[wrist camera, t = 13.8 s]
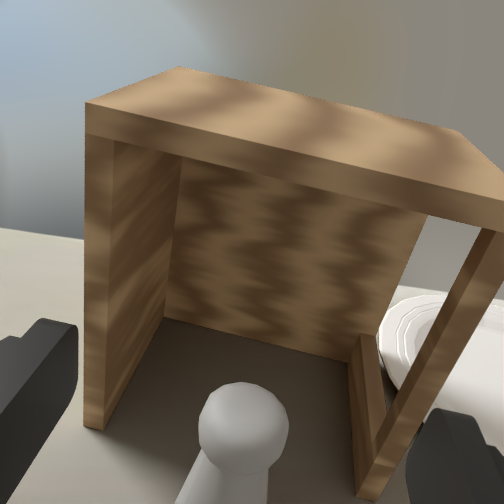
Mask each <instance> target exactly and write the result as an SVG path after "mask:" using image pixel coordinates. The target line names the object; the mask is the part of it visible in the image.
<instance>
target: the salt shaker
mask: <svg viewBox="0 0 504 504" xmlns="http://www.w3.org/2000/svg"><path fill="white" fill-rule="evenodd" d="M198 429H199V443H200V447H201V450H200V453H199V455H198V457H197V459H196V461H195V463H194V465H193V467H192V469H191V471H190V473H189V475H188V477H187V479H186V481H185V483H184V485H183V487H182V489H181V491H180V493H179V495H178V497H177V499H176V501H175V503H174V504H267V491H268V470H269V467H270V466H271V465H272V464H273V463H274V462H275V461H276V460H277V459H278V458H279V457H280V456H281V454H282V452H283V450H284V446H285V443H286V439H287V436H288V431H289V421H288V417H287V414H286V410H285V407H284V406H283V405H282V404H281V402H280V401H279V400H278V399H277V397H276V396H275V395H274V394H273V393H271V392H269V391H268V390H266V389H264V388H262V387H260V386H259V385H256V384H251V383H245V382H237V383H231V384H226V385H223V386H221V387H220V388H218V389H217V390H215V391H214V392H212V393H211V394H210V395H209V397H208V400H207V402H206V404H205V406H204V408H203V410H202V412H201V414H200V416H199V424H198Z"/></svg>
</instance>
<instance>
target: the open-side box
mask: <svg viewBox="0 0 504 504" xmlns="http://www.w3.org/2000/svg"><path fill="white" fill-rule="evenodd" d="M428 215H431V216H435V217H440V218H444V219H448V220H452V221H456V222H461V223H465V224H469V225H473V226H477V227H482V229H481V231H480V233H479V235H478V237H477V239H476V240H475V242H474V245H473V246H472V248H471V250H470V252H469V255H468V257H467V258H466V260H465V262H464V264H463V266H462V268H461V270H460V272H459V274H458V276H457V278H456V280H455V282H454V284H453V286H452V288H451V290H450V291H449V293H448V295H447V297H446V299H445V301H444V303H443V305H442V307H441V309H440V311H439V313H438V315H437V317H436V319H435V321H434V323H433V325H432V327H431V329H430V331H429V333H428V335H427V337H426V339H425V340H424V342H423V344H422V346H421V348H420V350H419V352H418V354H417V356H416V358H415V360H414V362H413V364H412V366H411V368H410V370H409V372H408V374H407V376H406V378H405V380H404V382H403V384H402V386H401V388H400V390H399V391H398V393H397V395H396V397H395V399H394V401H393V403H392V405H391V407H390V409H389V411H388V413H387V409H386V403H385V396H384V389H383V383H382V376H381V370H380V363H379V356H378V350H377V343H376V337H375V336H376V334H377V332H378V329H379V327H380V325H381V322H382V320H383V318H384V315H385V313H386V311H387V309H388V306H389V304H390V302H391V299H392V297H393V295H394V292H395V290H396V288H397V286H398V283H399V281H400V279H401V276H402V274H403V272H404V269H405V267H406V265H407V263H408V260H409V258H410V256H411V253H412V251H413V249H414V246H415V244H416V242H417V239H418V237H419V235H420V233H421V230H422V228H423V225H424V223H425V221H426V219H427V216H428ZM84 223H85V224H84V229H85V230H84V237H85V238H84V412H83V426H86V427H90V428H94V429H98V430H102V431H103V430H104V428H105V426H106V424H107V422H108V420H109V419H110V417H111V415H112V413H113V411H114V409H115V407H116V405H117V403H118V402H119V400H120V398H121V396H122V394H123V392H124V390H125V388H126V386H127V385H128V383H129V381H130V379H131V377H132V375H133V373H134V371H135V370H136V368H137V366H138V364H139V362H140V360H141V358H142V356H143V354H144V353H145V351H146V349H147V347H148V345H149V343H150V341H151V339H152V337H153V336H154V334H155V332H156V330H157V328H158V326H159V324H160V322H161V321H162V319H163V317H166V318H170V319H174V320H178V321H182V322H186V323H190V324H194V325H198V326H202V327H206V328H210V329H214V330H218V331H222V332H226V333H230V334H234V335H238V336H242V337H246V338H250V339H254V340H258V341H262V342H266V343H270V344H274V345H278V346H282V347H286V348H290V349H294V350H298V351H302V352H306V353H310V354H314V355H318V356H322V357H326V358H330V359H334V360H338V361H342V362H346V363H348V379H349V396H350V412H351V429H352V445H353V462H354V478H355V494H356V497H358V498H362V499H366V500H370V501H374V502H376V501H377V500H378V498H379V496H380V494H381V493H382V491H383V489H384V487H385V486H386V484H387V482H388V480H389V479H390V477H391V475H392V473H393V472H394V470H395V468H396V467H397V465H398V463H399V461H400V460H401V458H402V456H403V454H404V453H405V451H406V449H407V447H408V446H409V444H410V442H411V441H412V439H413V437H414V435H415V434H416V432H417V430H418V428H419V427H420V425H421V423H422V421H423V420H424V418H425V416H426V414H427V413H428V411H429V409H430V408H431V406H432V404H433V402H434V401H435V399H436V397H437V395H438V394H439V392H440V390H441V388H442V387H443V385H444V383H445V381H446V380H447V378H448V376H449V375H450V373H451V371H452V369H453V368H454V366H455V364H456V362H457V361H458V359H459V357H460V355H461V354H462V352H463V350H464V348H465V347H466V345H467V343H468V342H469V340H470V338H471V336H472V335H473V333H474V331H475V329H476V328H477V326H478V324H479V322H480V321H481V319H482V317H483V316H484V314H485V312H486V310H487V309H488V307H489V305H490V303H491V302H492V300H493V298H494V296H495V295H496V293H497V291H498V289H499V288H500V286H501V284H502V282H503V281H504V173H503V172H502V171H501V170H500V169H498V168H497V167H496V166H495V165H494V164H493V163H492V162H491V161H490V160H489V159H487V158H486V157H485V156H484V155H483V154H482V153H481V152H480V151H479V150H478V149H477V148H476V147H474V146H473V145H472V144H471V143H470V142H469V141H468V140H467V139H466V138H465V137H463V135H461V134H460V133H459V132H458V131H456V130H452V129H447V128H443V127H439V126H434V125H430V124H425V123H421V122H417V121H413V120H409V119H404V118H400V117H395V116H391V115H387V114H383V113H378V112H374V111H369V110H365V109H361V108H356V107H352V106H348V105H344V104H340V103H335V102H331V101H327V100H322V99H318V98H313V97H309V96H305V95H300V94H296V93H292V92H288V91H283V90H279V89H274V88H270V87H266V86H262V85H257V84H253V83H249V82H245V81H240V80H236V79H231V78H227V77H223V76H218V75H214V74H210V73H206V72H201V71H197V70H193V69H188V68H184V67H180V66H178V67H176V68H173V69H171V70H168V71H165V72H163V73H160V74H158V75H155V76H152V77H150V78H147V79H144V80H142V81H139V82H137V83H134V84H131V85H128V86H126V87H123V88H121V89H118V90H115V91H113V92H110V93H107V94H105V95H103V96H100V97H97V98H94V99H92V100H89V101H87V102H85V221H84Z"/></svg>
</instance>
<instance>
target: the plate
mask: <svg viewBox="0 0 504 504" xmlns="http://www.w3.org/2000/svg"><path fill="white" fill-rule="evenodd" d="M446 297H447V295H421V296H417V297H413V298H409V299H405V300H402V301H401V302H399V303H398V304H396V305H395V306H394V307H392V308H391V309H389V310H388V311H387V313H386V315H385V317H384V318H383V320H382V322H381V325H380V327H379V353H380V355H381V358H382V361H383V364H384V366H385V369H386V372H387V375H388V377H389V379H390V381H391V382H392V384H393V385H394V387H395V388H396V390H397V391H399V390H400V388H401V386H402V384H403V382H404V380H405V378H406V376H407V374H408V372H409V370H410V368H411V366H412V364H413V362H414V360H415V358H416V356H417V354H418V352H419V350H420V348H421V346H422V344H423V342H424V340H425V339H426V337H427V335H428V333H429V331H430V329H431V327H432V325H433V323H434V321H435V319H436V317H437V315H438V313H439V311H440V309H441V307H442V305H443V303H444V301H445V299H446ZM434 408H440V409H445V410H449V411H454V412H458V413H463V414H467V415H471V416H473V417H474V418H475V420H476V421H477V423H478V425H479V428H480V430H481V432H482V435H483V437H484V439H485V442H486V444H487V445H491V446H495V447H496V448H497V449H498V450H499V451H500V453H501V454H502V455H503V456H504V308H503V307H500V306H497V305H493V304H490V305H489V307H488V309H487V310H486V312H485V314H484V316H483V317H482V319H481V321H480V322H479V324H478V326H477V328H476V329H475V331H474V333H473V335H472V336H471V338H470V340H469V342H468V343H467V345H466V347H465V348H464V350H463V352H462V354H461V355H460V357H459V359H458V361H457V362H456V364H455V366H454V368H453V369H452V371H451V373H450V375H449V376H448V378H447V380H446V381H445V383H444V385H443V387H442V388H441V390H440V392H439V394H438V395H437V397H436V399H435V401H434V402H433V404H432V406H431V408H430V409H429V411H428V413H427V414H426V416H425V418H424V420H423V421H422V423H423V424H424V423H425V421H426V420H427V418H428V416H429V414H430V412H431V411H432V410H433V409H434Z"/></svg>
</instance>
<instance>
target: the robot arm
mask: <svg viewBox="0 0 504 504" xmlns="http://www.w3.org/2000/svg"><path fill="white" fill-rule="evenodd" d="M77 381H78V328H77V326H76V325H72V324H68V323H63V322H59V321H54V320H50V319H45V318H41V319H39V320H37V321H36V322H35V323H34V324H33V326H32V327H31V328H30V329H29V330H28V331H27V332H26V333H25V334H24V335H23V336H22V337H21V338H18V337H14V336H8V337H6V338H4V339H3V340H1V341H0V504H6V503H7V501H8V500H9V498H10V497H11V495H12V493H13V492H14V490H15V489H16V487H17V486H18V484H19V482H20V481H21V479H22V478H23V476H24V475H25V473H26V471H27V470H28V468H29V467H30V465H31V464H32V462H33V460H34V459H35V457H36V456H37V454H38V452H39V451H40V449H41V448H42V446H43V445H44V443H45V441H46V440H47V438H48V437H49V435H50V434H51V432H52V430H53V429H54V427H55V426H56V424H57V422H58V421H59V419H60V418H61V416H62V415H63V413H64V411H65V410H66V408H67V407H68V405H69V403H70V401H71V399H72V397H73V395H74V392H75V389H76V386H77ZM406 483H407V488H408V493H409V497H410V502H411V504H504V456H503V455H502V454H501V453H500V451H499V450H498V449H497V448H496V447H495V446H491V445H487V444H486V442H485V439H484V437H483V435H482V432H481V430H480V428H479V425H478V423H477V421H476V420H475V418H474V417H473V416H471V415H467V414H463V413H458V412H454V411H449V410H445V409H440V408H434V409H433V410H432V411H431V412H430V414H429V416H428V418H427V420H426V421H425V423H424V425H423V427H422V429H421V431H420V433H419V435H418V437H417V438H416V440H415V442H414V444H413V446H412V448H411V450H410V452H409V454H408V457H407V462H406Z"/></svg>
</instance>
